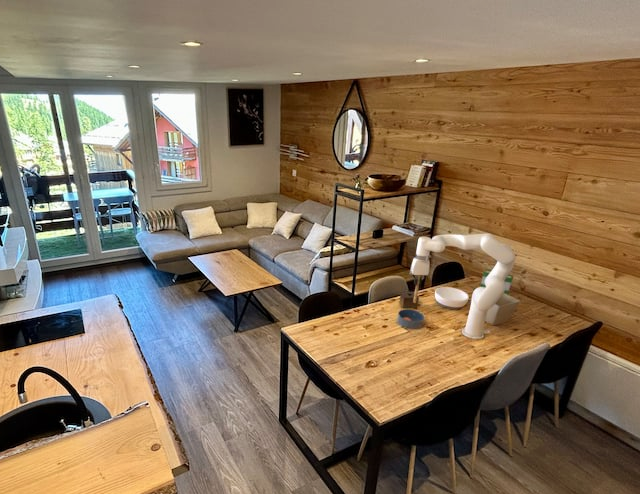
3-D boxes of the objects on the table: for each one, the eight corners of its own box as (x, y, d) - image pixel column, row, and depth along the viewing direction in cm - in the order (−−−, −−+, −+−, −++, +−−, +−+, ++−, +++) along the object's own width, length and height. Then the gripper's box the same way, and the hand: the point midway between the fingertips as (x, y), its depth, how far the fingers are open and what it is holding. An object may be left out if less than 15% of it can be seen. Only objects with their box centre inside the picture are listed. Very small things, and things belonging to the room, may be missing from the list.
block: (406, 322, 255) (406, 317, 253) (410, 325, 251) (411, 319, 250) (401, 323, 253) (402, 318, 252) (405, 326, 250) (406, 321, 248)
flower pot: (493, 329, 250) (500, 306, 243) (469, 315, 266) (474, 293, 259) (514, 323, 257) (520, 300, 251) (489, 310, 273) (494, 288, 267)
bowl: (446, 294, 295) (448, 284, 292) (473, 307, 278) (475, 296, 274) (426, 301, 284) (428, 290, 281) (453, 314, 267) (455, 303, 264)
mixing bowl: (419, 317, 262) (420, 309, 260) (425, 330, 247) (427, 322, 245) (394, 316, 263) (395, 308, 260) (399, 329, 248) (401, 321, 246)
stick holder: (413, 302, 281) (415, 291, 278) (416, 309, 272) (418, 298, 269) (399, 302, 282) (401, 291, 279) (402, 308, 273) (404, 297, 269)
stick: (415, 301, 249) (420, 275, 242) (416, 302, 247) (420, 277, 240) (412, 301, 249) (417, 275, 242) (413, 302, 247) (417, 276, 240)
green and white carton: (476, 302, 284) (483, 272, 275) (478, 298, 290) (485, 269, 280) (503, 309, 275) (511, 278, 265) (505, 306, 280) (513, 275, 271)
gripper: (433, 255, 239) (428, 282, 246) (407, 254, 240) (403, 281, 247) (437, 259, 232) (432, 287, 239) (410, 258, 233) (406, 286, 240)
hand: (417, 284), depth 243 cm, fingers closed on stick, 1 cm apart
